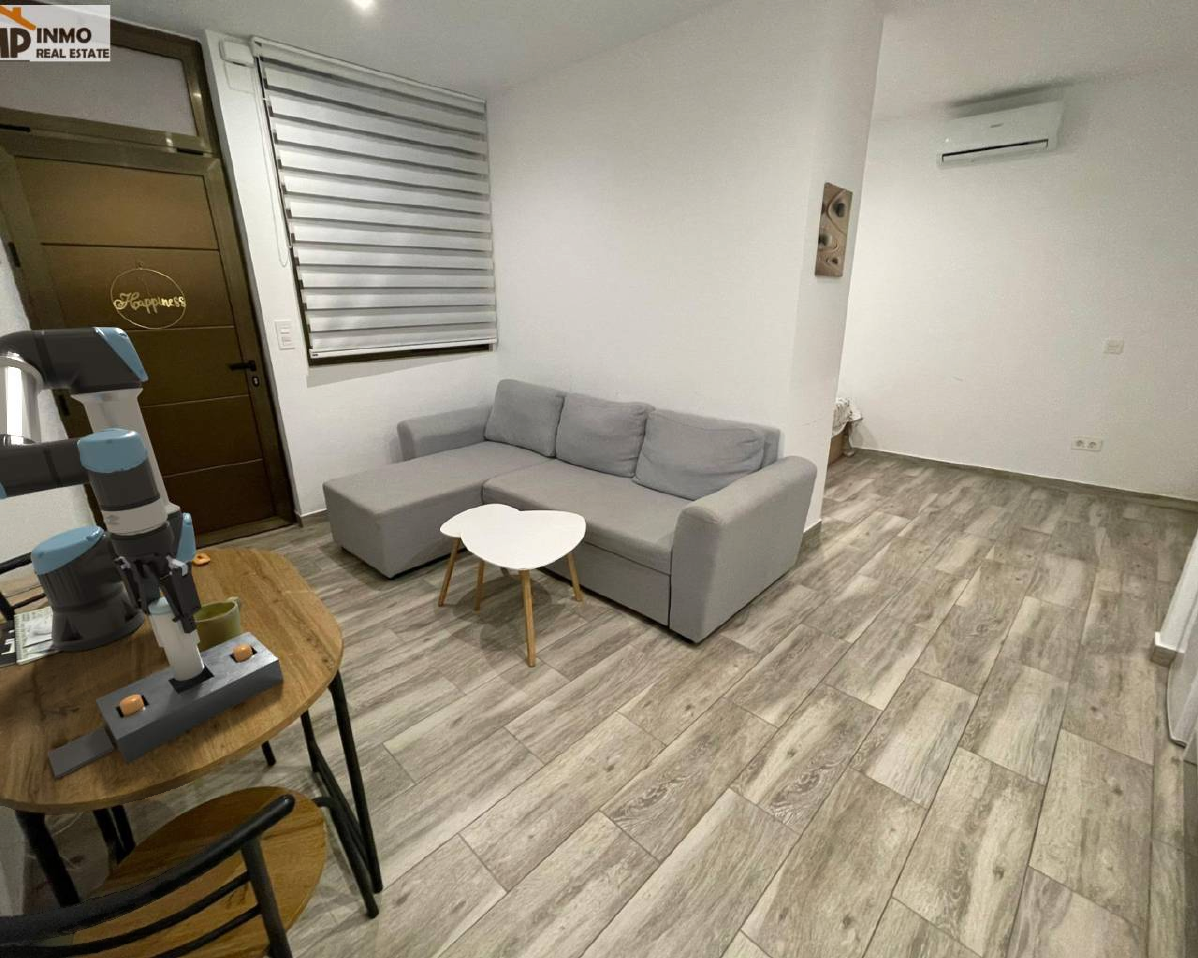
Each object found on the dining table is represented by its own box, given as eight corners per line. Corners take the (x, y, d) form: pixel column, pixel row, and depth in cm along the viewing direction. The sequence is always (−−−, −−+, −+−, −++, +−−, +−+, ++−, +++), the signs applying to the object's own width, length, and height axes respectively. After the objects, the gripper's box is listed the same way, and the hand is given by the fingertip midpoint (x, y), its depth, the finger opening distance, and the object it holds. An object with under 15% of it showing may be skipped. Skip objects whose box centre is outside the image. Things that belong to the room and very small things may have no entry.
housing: (105, 721, 93) (95, 699, 91) (254, 651, 110) (248, 631, 109) (126, 763, 84) (116, 739, 83) (283, 679, 102) (278, 659, 100)
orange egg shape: (238, 673, 103) (230, 649, 101) (253, 666, 105) (247, 642, 103) (243, 679, 102) (236, 655, 100) (259, 671, 104) (252, 647, 102)
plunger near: (128, 727, 91) (117, 701, 89) (148, 717, 93) (138, 692, 91) (132, 735, 89) (121, 709, 87) (153, 725, 91) (142, 699, 89)
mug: (218, 656, 106) (202, 610, 105) (183, 663, 109) (167, 617, 108) (270, 630, 118) (256, 588, 117) (237, 637, 120) (223, 596, 120)
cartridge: (167, 678, 94) (141, 608, 88) (190, 661, 98) (167, 593, 93) (188, 682, 93) (163, 611, 88) (211, 665, 97) (188, 596, 92)
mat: (48, 755, 86) (47, 753, 86) (104, 729, 91) (103, 726, 91) (56, 779, 82) (55, 776, 82) (114, 749, 87) (113, 746, 87)
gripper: (71, 531, 83) (118, 650, 91) (160, 542, 80) (201, 665, 88) (120, 511, 90) (160, 624, 98) (204, 521, 87) (238, 637, 95)
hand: (179, 643), depth 93 cm, fingers closed on cartridge, 4 cm apart
